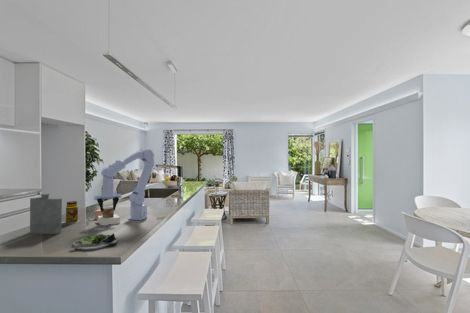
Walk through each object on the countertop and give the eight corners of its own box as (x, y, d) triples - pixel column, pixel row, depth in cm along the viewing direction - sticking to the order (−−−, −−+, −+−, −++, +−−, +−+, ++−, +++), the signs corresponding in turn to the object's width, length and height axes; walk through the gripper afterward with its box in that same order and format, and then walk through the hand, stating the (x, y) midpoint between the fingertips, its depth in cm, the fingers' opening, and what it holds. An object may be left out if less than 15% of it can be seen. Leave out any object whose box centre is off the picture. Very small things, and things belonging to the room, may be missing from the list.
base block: (115, 220, 173) (115, 214, 173) (119, 224, 165) (119, 217, 165) (97, 222, 167) (97, 216, 167) (101, 226, 159) (101, 219, 159)
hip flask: (62, 232, 146) (63, 193, 146) (57, 234, 142) (57, 194, 142) (33, 231, 147) (33, 192, 147) (27, 233, 143) (27, 193, 143)
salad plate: (77, 256, 114) (77, 245, 114) (62, 246, 126) (62, 235, 126) (123, 245, 128) (123, 234, 128) (105, 236, 140) (105, 227, 140)
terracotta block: (106, 217, 180) (106, 209, 180) (103, 219, 175) (103, 210, 175) (97, 217, 180) (97, 209, 180) (94, 219, 175) (94, 211, 175)
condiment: (73, 223, 163) (73, 202, 163) (59, 223, 164) (59, 202, 164) (81, 220, 170) (81, 200, 170) (68, 220, 171) (68, 200, 171)
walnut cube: (111, 215, 170) (111, 207, 170) (113, 217, 166) (113, 208, 166) (102, 216, 167) (102, 207, 167) (104, 218, 163) (104, 209, 163)
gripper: (119, 186, 173) (118, 208, 174) (93, 187, 165) (92, 211, 165) (122, 187, 168) (122, 210, 168) (95, 189, 159) (95, 213, 159)
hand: (107, 210), depth 166 cm, fingers open, 6 cm apart
